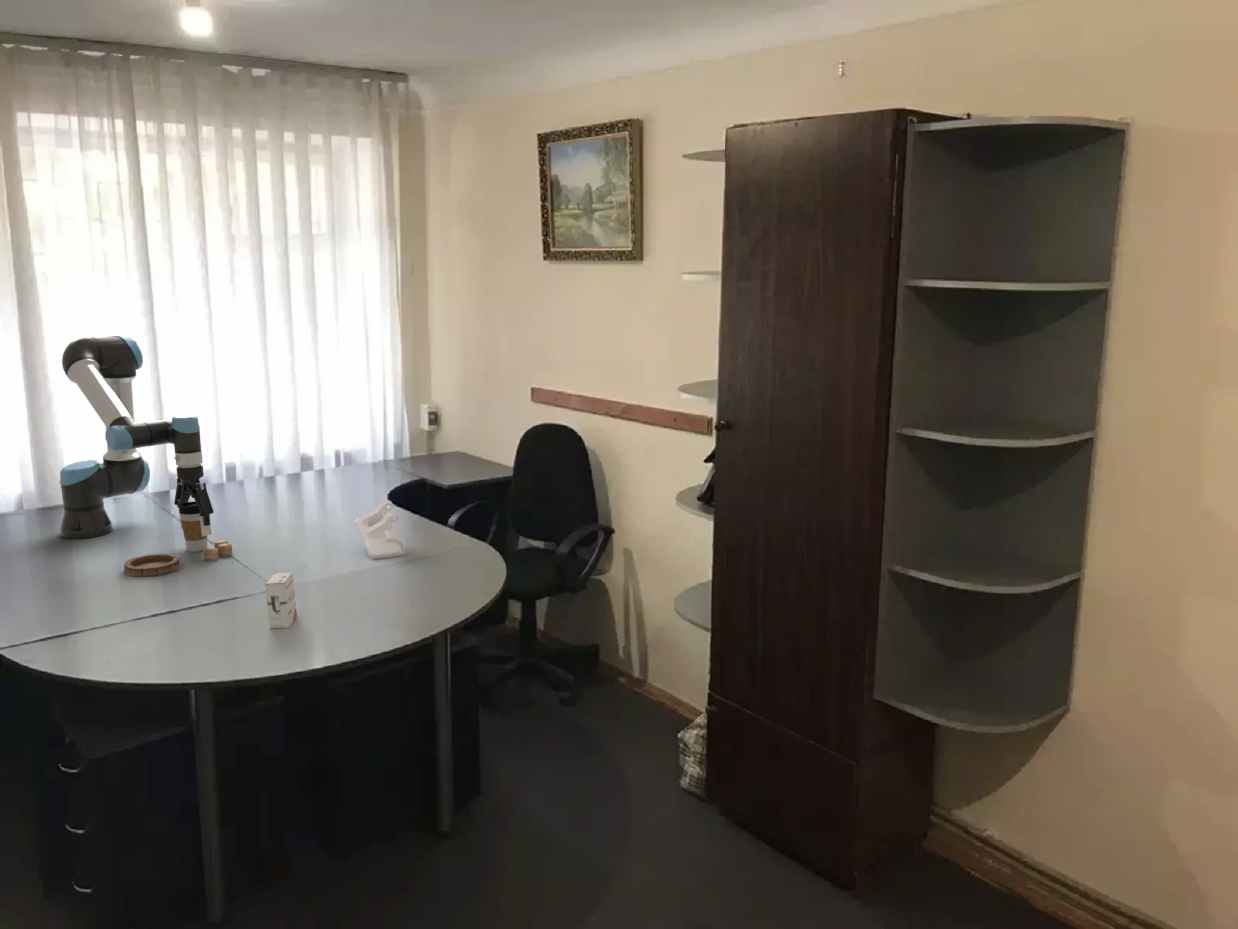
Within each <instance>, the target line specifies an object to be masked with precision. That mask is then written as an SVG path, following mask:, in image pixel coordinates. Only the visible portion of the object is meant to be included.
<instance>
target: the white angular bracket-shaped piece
mask: <svg viewBox="0 0 1238 929" xmlns="http://www.w3.org/2000/svg"><path fill="white" fill-rule="evenodd" d="M393 508H394V505H393V502H392V501H391V500H390V499H389V500H388V499H387V500H383V501H381V502H380V503H379V505H378V506H377V508H375V509H373V510H371V511H369V512H367V513H365V514H364V515H362V516H360V517H358V518H356V519H355V525H356V527H357V530H358V532H359V535H360V537H361V540H362V542H363V545H364V546H365V549H366V551H367V554H368V556H369V557H370V559H372V560H378V559H379V560H380V559H386V558H392V557H400V556H404V555H405V553H406V552H405V551H406V546H405V543H404V541H403V539H402V537H401V535H400V534H399V533H397V532H396V531H395V529H394V527H393V524H395V523H397V522H399V519H400V517H399V515H398V513H396V512H390V513H389V512H388V513H386V512H387V511H391V510H392V509H393Z"/></svg>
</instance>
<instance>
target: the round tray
mask: <svg viewBox="0 0 1238 929" xmlns="http://www.w3.org/2000/svg"><path fill="white" fill-rule="evenodd" d="M180 558H181V557H180V556H179V555H177V554H174V553H162V552H160V553H150V554H149V553H148V554H143V555H139V556H135V557H132V558H130V559H127V560H125V562H124V564H123V571H124V574H125V575H126V576H128V577H134V578H148V577H156V576H162V575H166V574H171V573H173V572H175V571H177V570H179V569H180V568H181V565H182V564H181V561H180V560H181V559H180Z"/></svg>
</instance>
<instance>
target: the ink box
mask: <svg viewBox="0 0 1238 929" xmlns="http://www.w3.org/2000/svg"><path fill="white" fill-rule="evenodd" d="M294 583H295V582H294V576H293V572H279V573H278V572H277V573H273V575H271V577H270V578H269V579H268V580H267V582H266V583H265V584H264V587H265V594H266V604H267V605H266V606H267V613H268V614H267V615H268V622H269V628H270V629H289V628H290V627H291V626H292V624H293V622H294V621H295V619H296V617H297V616H298V615H297V614H298V613H297V612H298V611H297V605H296V594H295V585H294Z"/></svg>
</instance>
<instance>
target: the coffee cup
mask: <svg viewBox="0 0 1238 929" xmlns="http://www.w3.org/2000/svg"><path fill="white" fill-rule="evenodd" d="M179 513H180V514H181V523H182V527H183V529H182V532H183V537H184V541H185V546H186V551H187V552H191V553H193V552H194V553H196V552H204V550H205V549H207V548H208V535H207V536H202V532H201V522H200V516H199V515H200V514H201V512H200V510H199V508H198V506H197V504H196V502H195V500H194V501H188V502H186V503H182V504H180V508H178V514H179Z"/></svg>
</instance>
